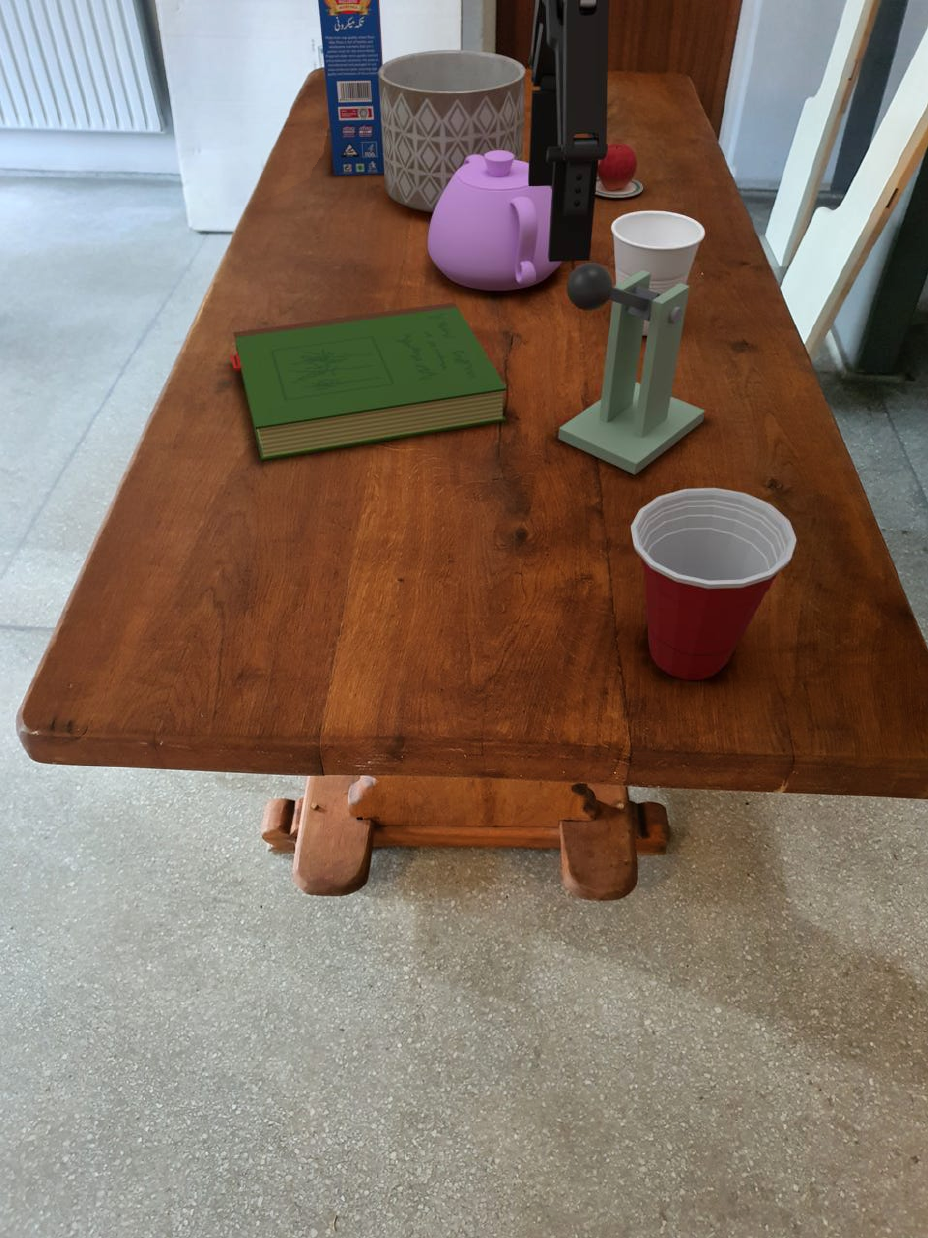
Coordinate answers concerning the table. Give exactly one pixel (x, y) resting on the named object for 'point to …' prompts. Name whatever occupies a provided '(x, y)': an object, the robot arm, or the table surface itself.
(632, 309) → the switch lever
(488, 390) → the book
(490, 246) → the teapot
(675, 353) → the switch bracket
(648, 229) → the cup
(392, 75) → the planter
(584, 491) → the table surface
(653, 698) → the table surface
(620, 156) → the apple
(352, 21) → the pasta box
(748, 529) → the plastic cup
